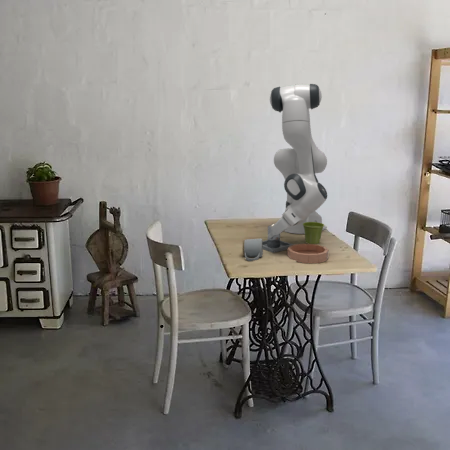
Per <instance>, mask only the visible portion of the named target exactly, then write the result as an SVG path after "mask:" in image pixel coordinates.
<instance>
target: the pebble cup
mask: <svg viewBox="0 0 450 450" xmlns="http://www.w3.org/2000/svg"><path fill="white" fill-rule="evenodd" d="M275 224H276V223H272V224H270V225H268V226H267V235H268V234H270V233H271V228H272V227H273V226H274V225H275ZM267 240H268V244H267V247H270V248H273V249H274V248H278V247H280V240H281V233H280V234H278V235H274V236H273V237H272V238H269V237H268V236H267Z"/></svg>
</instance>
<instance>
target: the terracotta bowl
mask: <svg viewBox="0 0 450 450" xmlns="http://www.w3.org/2000/svg"><path fill="white" fill-rule="evenodd" d="M286 252H287V257H288V258H289V259H291V260H293V261H296V262H295V263H300V262H302V264H308V263H309V264H320V263H323V262H327V260H328V259H329V248H327V247H326V246H324V245H320V244H309V243H296V244H295V243H294V245H291V246H289V247H288V249H287V250H286Z"/></svg>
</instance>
